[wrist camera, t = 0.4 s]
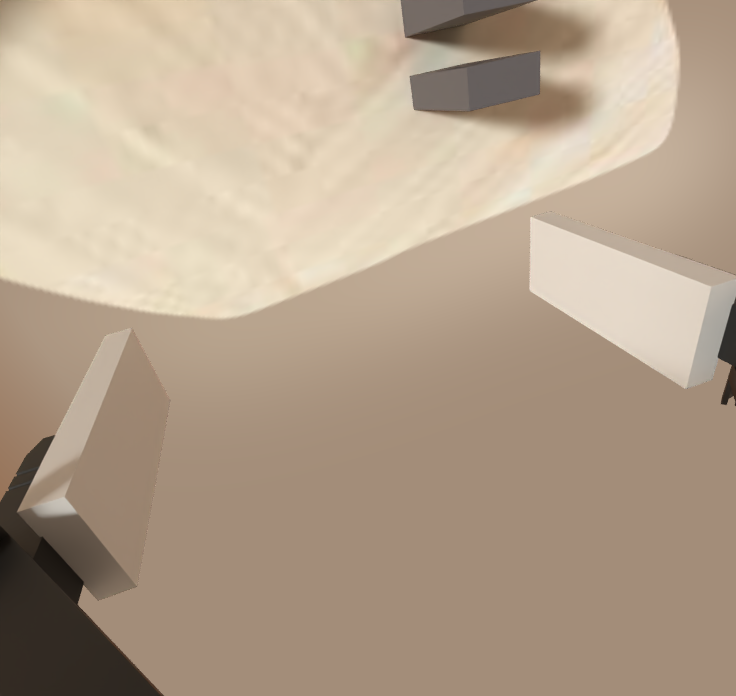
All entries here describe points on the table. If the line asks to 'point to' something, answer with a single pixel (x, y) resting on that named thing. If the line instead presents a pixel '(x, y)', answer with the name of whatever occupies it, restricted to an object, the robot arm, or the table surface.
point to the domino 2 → (477, 83)
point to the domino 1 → (449, 13)
